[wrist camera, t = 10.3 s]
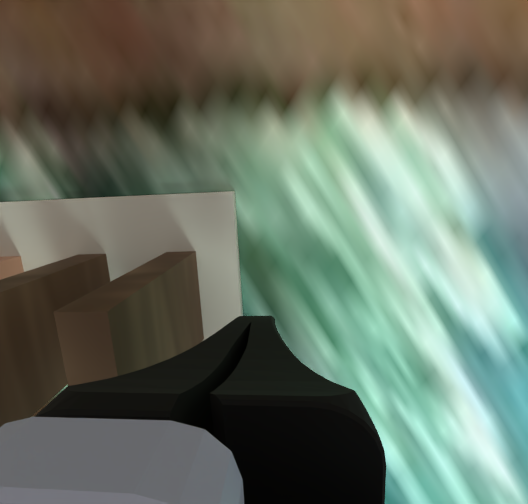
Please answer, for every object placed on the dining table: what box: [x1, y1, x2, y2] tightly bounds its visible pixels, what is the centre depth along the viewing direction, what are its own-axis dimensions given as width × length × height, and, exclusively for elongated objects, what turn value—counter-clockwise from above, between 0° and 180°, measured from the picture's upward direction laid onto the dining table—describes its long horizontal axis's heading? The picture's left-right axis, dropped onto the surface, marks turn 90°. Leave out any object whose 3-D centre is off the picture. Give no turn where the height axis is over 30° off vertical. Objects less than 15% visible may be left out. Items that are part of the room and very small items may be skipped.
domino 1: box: [0, 254, 110, 427], centre depth 14 cm, size 2×5×8 cm, turn 2°
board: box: [0, 191, 243, 341], centre depth 18 cm, size 25×11×1 cm, turn 93°
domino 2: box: [54, 251, 204, 386], centre depth 13 cm, size 2×5×8 cm, turn 3°
